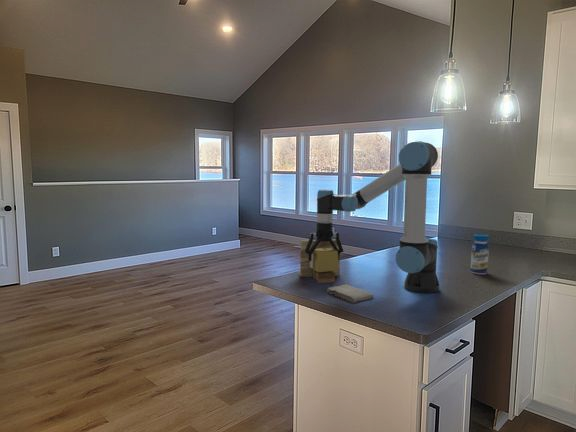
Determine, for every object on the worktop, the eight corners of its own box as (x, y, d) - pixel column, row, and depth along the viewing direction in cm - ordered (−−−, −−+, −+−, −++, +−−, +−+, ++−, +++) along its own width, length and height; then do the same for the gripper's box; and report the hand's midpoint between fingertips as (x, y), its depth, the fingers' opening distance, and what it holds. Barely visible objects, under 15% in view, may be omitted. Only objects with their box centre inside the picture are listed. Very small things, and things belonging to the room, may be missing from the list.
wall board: (347, 281, 198) (348, 244, 196) (306, 283, 195) (306, 245, 193) (336, 273, 214) (337, 238, 212) (298, 274, 211) (299, 239, 209)
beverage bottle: (486, 271, 221) (488, 234, 219) (489, 275, 213) (491, 236, 211) (468, 270, 224) (471, 233, 221) (471, 274, 215) (473, 235, 213)
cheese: (309, 267, 205) (309, 247, 204) (329, 266, 209) (329, 246, 207) (317, 272, 195) (318, 251, 194) (338, 271, 199) (339, 250, 198)
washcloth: (344, 288, 189) (345, 282, 188) (374, 299, 174) (374, 292, 174) (324, 293, 182) (324, 286, 181) (353, 304, 167) (354, 296, 167)
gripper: (345, 220, 205) (344, 264, 208) (298, 221, 201) (298, 266, 203) (350, 222, 198) (349, 268, 200) (302, 223, 193) (301, 269, 196)
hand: (323, 267), depth 202 cm, fingers closed on cheese, 11 cm apart
